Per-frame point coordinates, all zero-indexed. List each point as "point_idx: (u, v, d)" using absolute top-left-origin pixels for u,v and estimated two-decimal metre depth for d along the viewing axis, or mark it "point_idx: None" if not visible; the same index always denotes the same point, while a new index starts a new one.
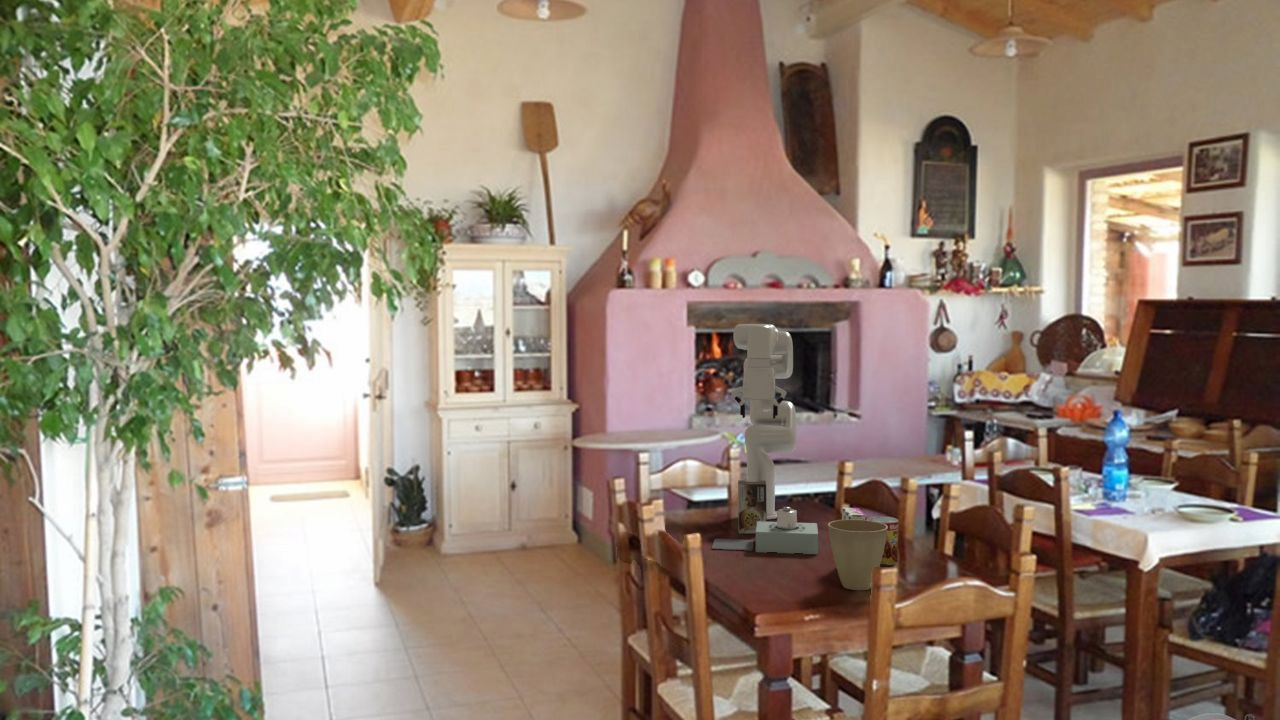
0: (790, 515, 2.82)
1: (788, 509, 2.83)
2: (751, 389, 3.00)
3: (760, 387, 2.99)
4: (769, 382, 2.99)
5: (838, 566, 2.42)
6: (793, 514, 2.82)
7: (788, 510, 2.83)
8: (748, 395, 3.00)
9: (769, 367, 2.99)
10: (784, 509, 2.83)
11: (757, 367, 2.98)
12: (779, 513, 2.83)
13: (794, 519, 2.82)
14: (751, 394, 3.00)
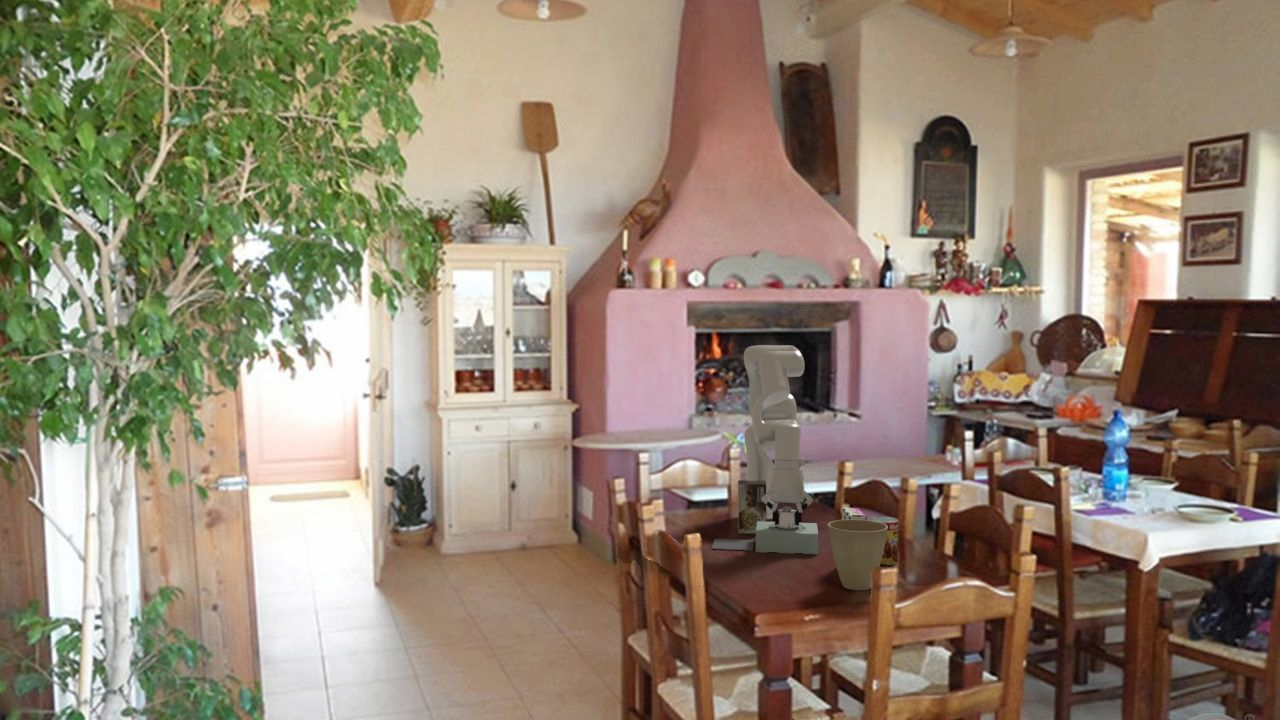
0: (790, 515, 2.82)
1: (788, 509, 2.83)
2: (779, 492, 2.82)
3: (788, 490, 2.81)
4: (798, 484, 2.81)
5: (838, 566, 2.42)
6: (793, 514, 2.82)
7: (788, 510, 2.83)
8: (775, 498, 2.83)
9: (798, 469, 2.81)
10: (784, 509, 2.83)
11: (785, 469, 2.80)
12: (779, 513, 2.83)
13: (794, 519, 2.82)
14: (779, 497, 2.82)
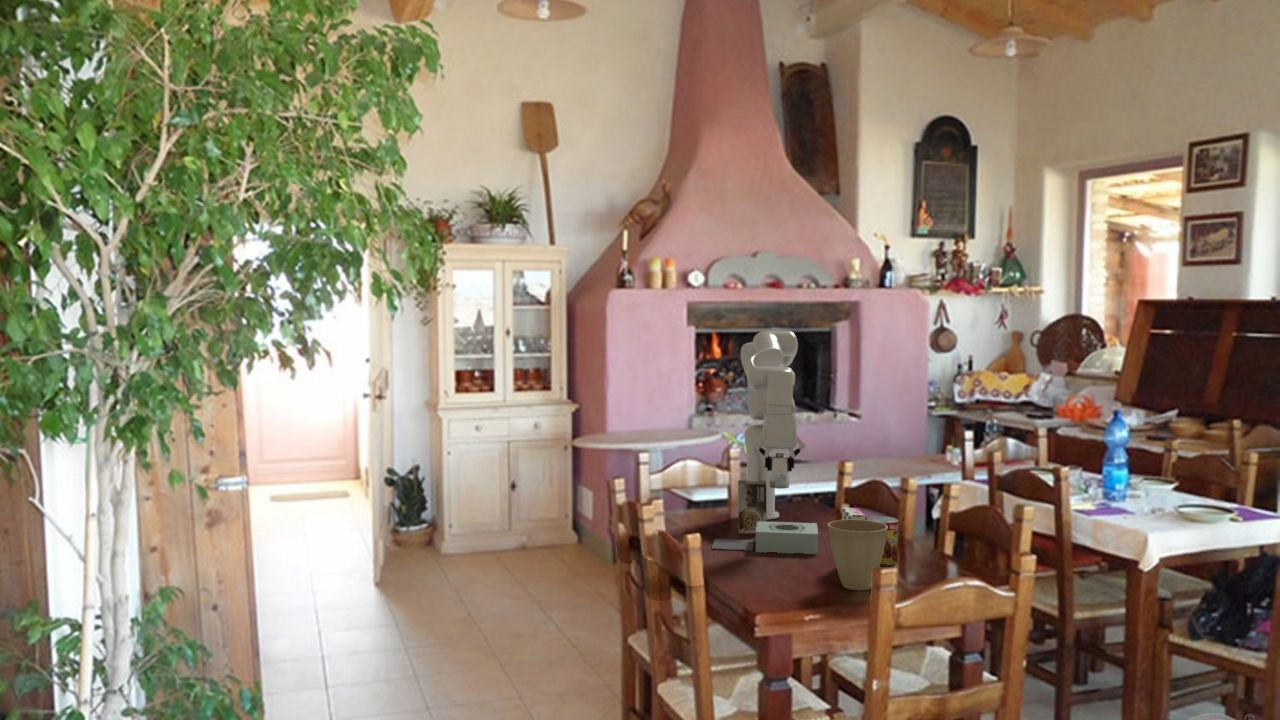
0: (783, 460, 2.81)
1: (781, 455, 2.83)
2: (771, 437, 2.82)
3: (781, 435, 2.81)
4: (791, 430, 2.81)
5: (838, 566, 2.42)
6: (786, 459, 2.82)
7: (781, 456, 2.83)
8: (768, 444, 2.82)
9: (791, 414, 2.81)
10: (777, 455, 2.83)
11: (778, 414, 2.80)
12: (772, 459, 2.82)
13: (787, 465, 2.82)
14: (772, 443, 2.82)
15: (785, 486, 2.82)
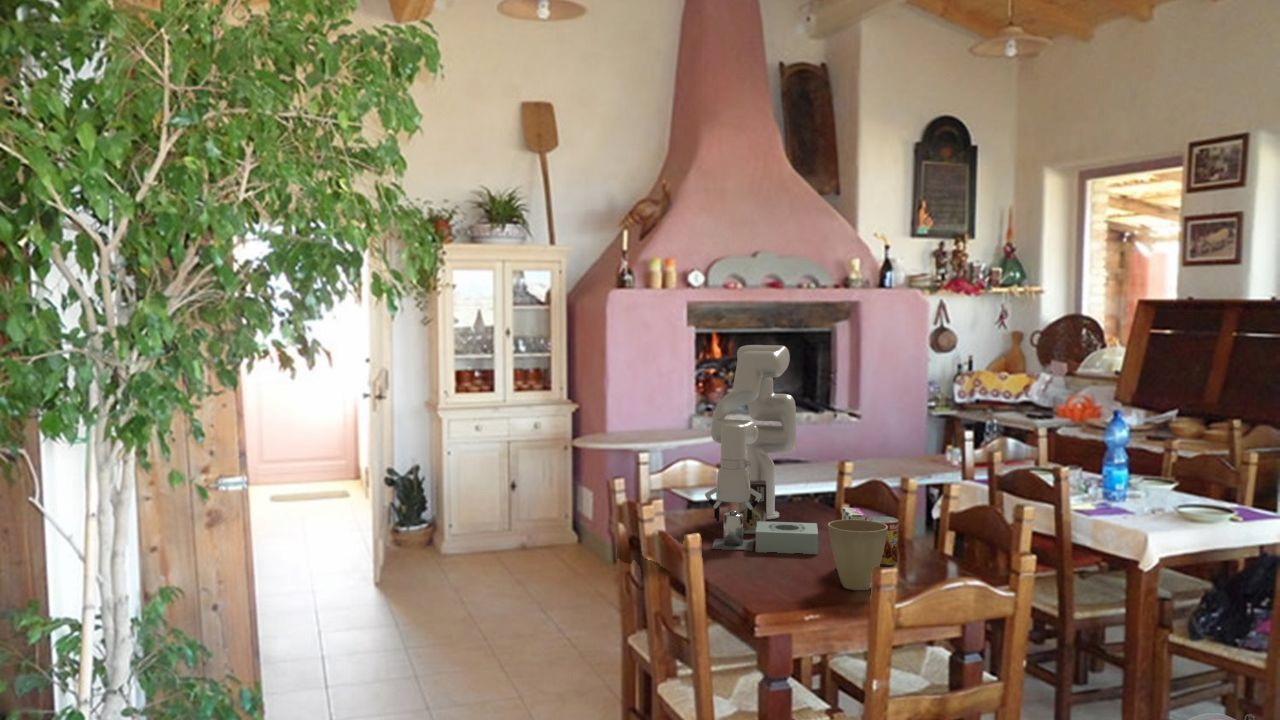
0: (736, 519, 2.84)
1: (734, 513, 2.86)
2: (725, 491, 2.85)
3: (734, 489, 2.84)
4: (743, 484, 2.84)
5: (838, 566, 2.42)
6: (739, 518, 2.85)
7: (734, 514, 2.86)
8: (721, 497, 2.85)
9: (744, 468, 2.84)
10: (730, 513, 2.86)
11: (731, 469, 2.83)
12: (725, 517, 2.85)
13: (740, 523, 2.85)
14: (725, 497, 2.85)
15: (738, 544, 2.85)
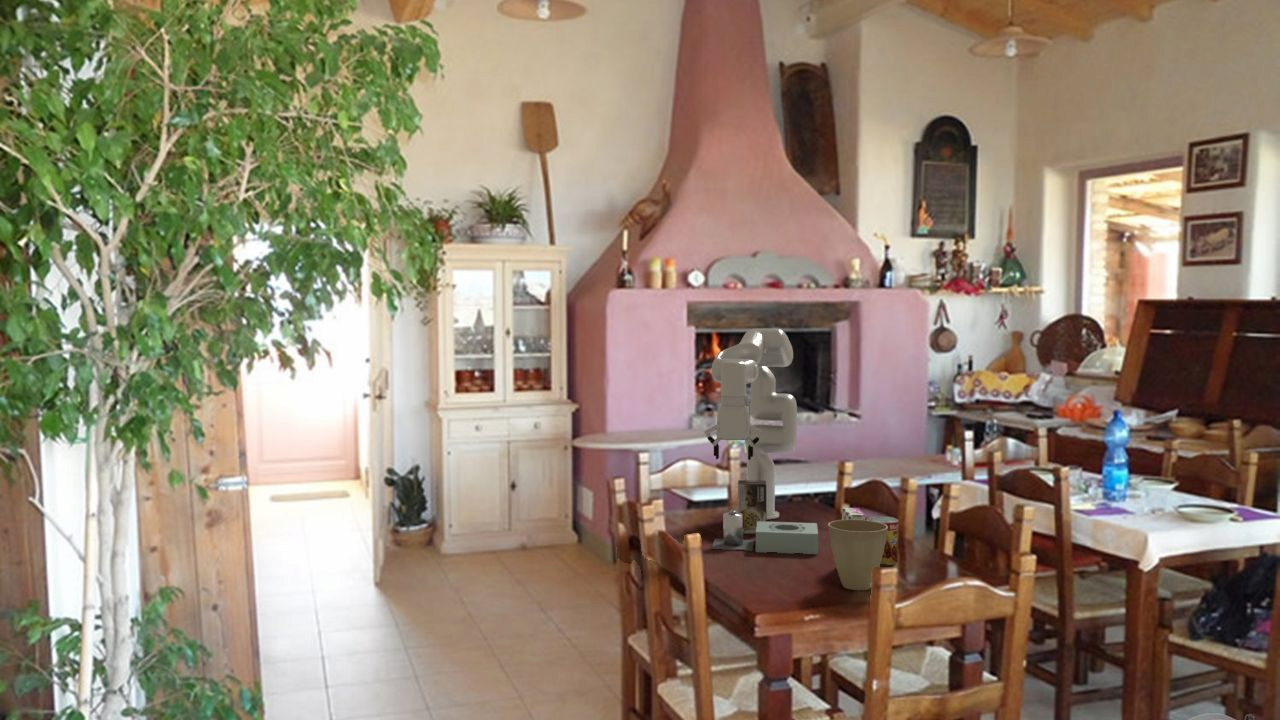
0: (735, 518, 2.84)
1: (734, 512, 2.86)
2: (725, 429, 2.84)
3: (734, 427, 2.83)
4: (744, 421, 2.83)
5: (838, 566, 2.42)
6: (738, 517, 2.85)
7: (734, 513, 2.86)
8: (722, 435, 2.84)
9: (744, 406, 2.83)
10: (730, 512, 2.86)
11: (731, 406, 2.82)
12: (725, 516, 2.86)
13: (739, 522, 2.85)
14: (725, 434, 2.84)
15: (738, 543, 2.85)
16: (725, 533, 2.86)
